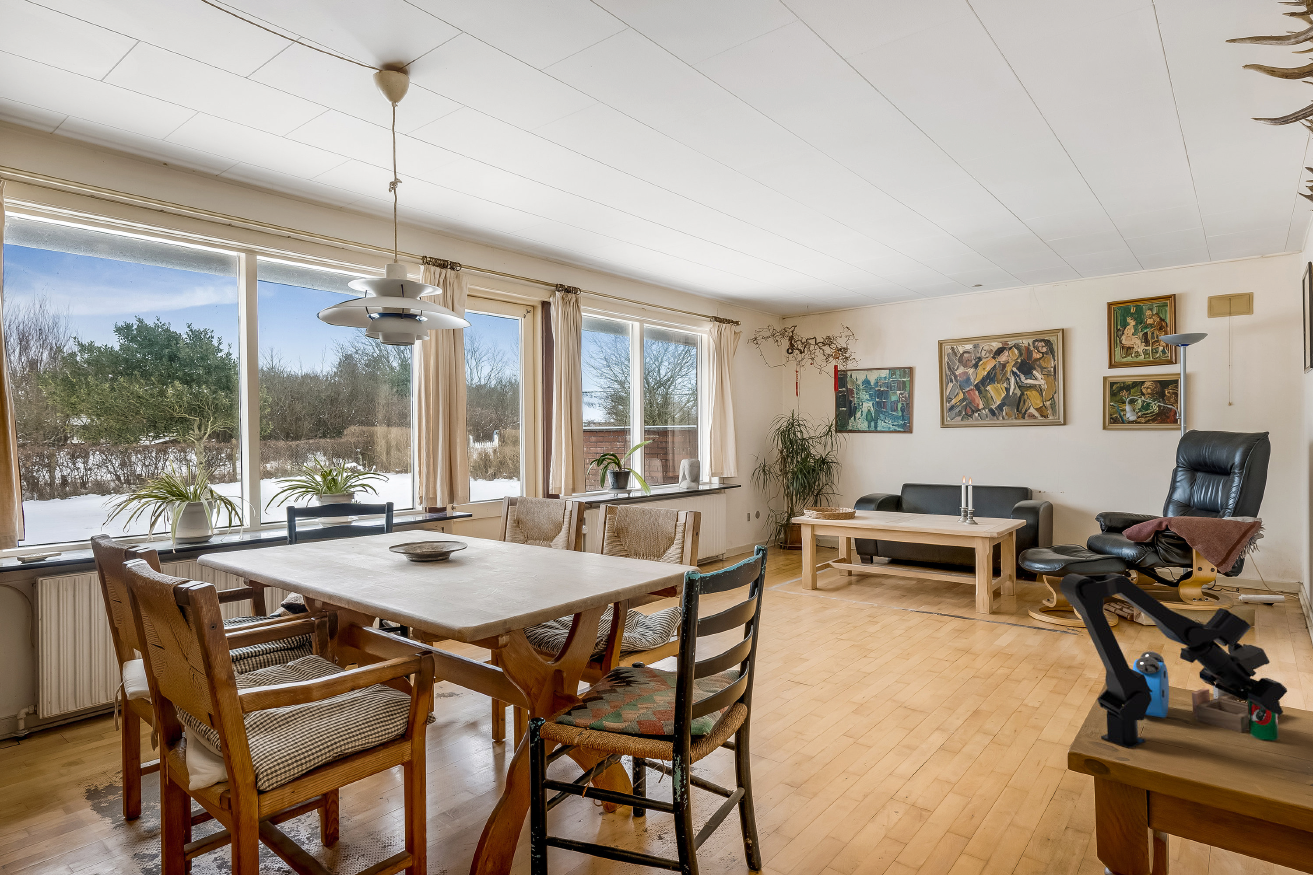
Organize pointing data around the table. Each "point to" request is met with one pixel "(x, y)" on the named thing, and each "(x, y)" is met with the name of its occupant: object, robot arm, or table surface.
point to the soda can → (1262, 722)
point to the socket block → (1221, 709)
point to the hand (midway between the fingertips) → (1268, 707)
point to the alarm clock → (1155, 682)
